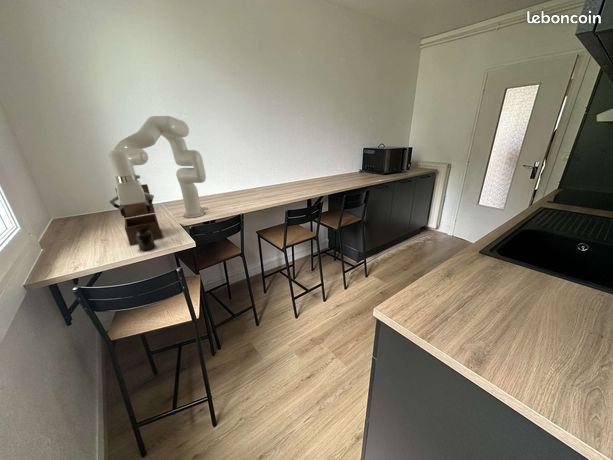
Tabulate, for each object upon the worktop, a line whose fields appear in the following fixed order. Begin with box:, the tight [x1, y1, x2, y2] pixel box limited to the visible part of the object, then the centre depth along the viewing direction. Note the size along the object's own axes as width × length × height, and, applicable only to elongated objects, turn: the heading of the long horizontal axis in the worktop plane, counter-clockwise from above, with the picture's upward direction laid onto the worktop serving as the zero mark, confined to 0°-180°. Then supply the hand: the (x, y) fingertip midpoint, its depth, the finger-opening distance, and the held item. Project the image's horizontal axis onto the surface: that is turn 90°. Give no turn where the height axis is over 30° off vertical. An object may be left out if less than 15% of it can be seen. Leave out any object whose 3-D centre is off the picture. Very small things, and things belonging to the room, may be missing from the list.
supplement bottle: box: [136, 225, 156, 252], centre depth 124 cm, size 7×7×12 cm
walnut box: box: [124, 213, 163, 246], centre depth 138 cm, size 16×15×10 cm
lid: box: [114, 183, 156, 219], centre depth 141 cm, size 17×15×5 cm
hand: (137, 215), depth 119 cm, fingers open, 9 cm apart
